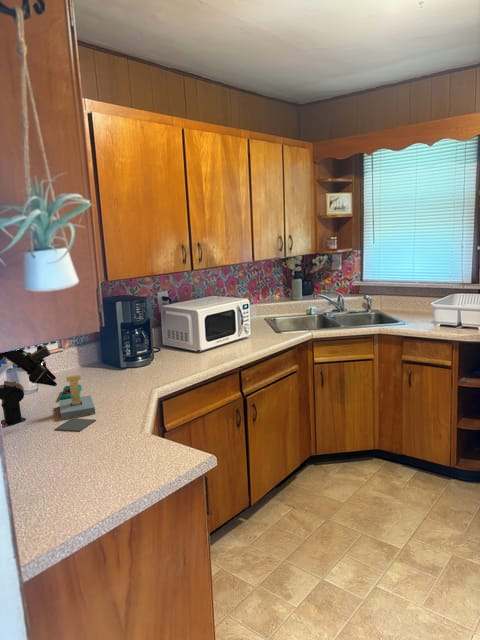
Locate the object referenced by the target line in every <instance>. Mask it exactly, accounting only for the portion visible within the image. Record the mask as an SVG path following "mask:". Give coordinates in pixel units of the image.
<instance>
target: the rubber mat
mask: <svg viewBox="0 0 480 640" xmlns="http://www.w3.org/2000/svg"><path fill="white" fill-rule="evenodd" d="M96 421H97V419H94V418H93V419H90V418H89V419H88V418H77V417H74V418H69V420H66V421H65V422H63V423H62V424H60V425H58V426H57V427H56V428H54V430H55V431H62V432H63V431H64V432H77V433H78V432H79V433H80V432H82V431H83V430H85V429H86V428H88V427H89V426H91V425H92V424H93V423H95V422H96Z"/></svg>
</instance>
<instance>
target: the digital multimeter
mask: <svg viewBox="0 0 480 640" xmlns="http://www.w3.org/2000/svg"><path fill="white" fill-rule="evenodd" d="M78 385H79V394H81V391H82V385H81V384H78ZM62 389H63V390H62V391H61V394H60V396H59V400H65V399H71V391H70V385H66V386H64V387H63V388H62Z"/></svg>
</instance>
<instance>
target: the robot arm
mask: <svg viewBox="0 0 480 640" xmlns="http://www.w3.org/2000/svg"><path fill="white" fill-rule="evenodd" d="M49 356H51V350H49V348H48V347H47V345H41V344H39V345H38V346H36V350H35V351H34V352H32V353H31V352H27V351H26V350H24V349H23V348H21V349H20V350H17V351H11V352H5V353H0V362H1V361H2V360H3V358H5V360H7V361H9V362H11V363H12V364H14V366H16V368H17V369H21V370H22V371H24V372H25V373H26V374H27V375H28V380H29V382H30V383H32V384H40V385H45V386H51V387H57V385H58V383H57V382H56V381H55V380H56V379H57V377H56V376H55V375H54V374H53V372H52V371H51V370H50V369H49V368H48V367H47V362H46V360H45V358H47V357H49ZM24 397H25V388H24V386H23V385H22V384H21V383H17V381H9V380H8V381H7V380H3V384H0V400H1V404H0V405H1V408H2V411H3V418H4V419H2V420H0V423H2V424H5V425H6V424H7V426H12V425H15V424H18V423H20V422H24V421H26V418H25V417H23V416H22V413H21V412H22V411H21V404H20V402H22V400H24V399H25V398H24Z"/></svg>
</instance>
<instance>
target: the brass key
mask: <svg viewBox="0 0 480 640" xmlns="http://www.w3.org/2000/svg"><path fill="white" fill-rule="evenodd" d="M65 379H66V382H68V383H69V386H70V391H71V400H72V406H76V405H81V403H80V397H81V396H80V394H81V393H80V394H79V385H80V384H79V381H80V380H81V374H77V375H69V376H66V377H65Z"/></svg>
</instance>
